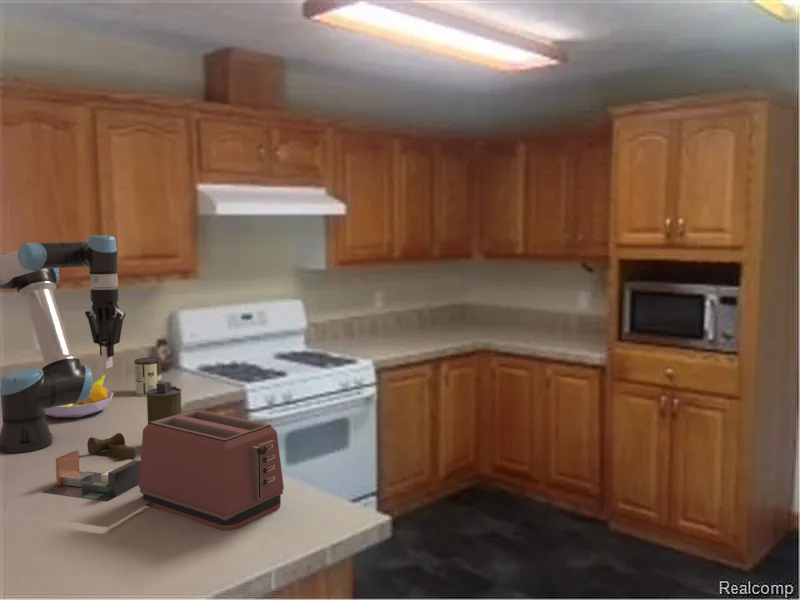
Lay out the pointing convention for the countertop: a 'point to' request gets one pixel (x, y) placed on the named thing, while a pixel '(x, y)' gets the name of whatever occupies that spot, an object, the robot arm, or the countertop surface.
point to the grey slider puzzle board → (103, 484)
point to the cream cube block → (105, 477)
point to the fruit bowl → (84, 403)
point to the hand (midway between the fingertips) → (107, 367)
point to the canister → (163, 401)
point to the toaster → (211, 468)
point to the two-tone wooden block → (71, 471)
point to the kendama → (111, 447)
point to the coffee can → (147, 374)
